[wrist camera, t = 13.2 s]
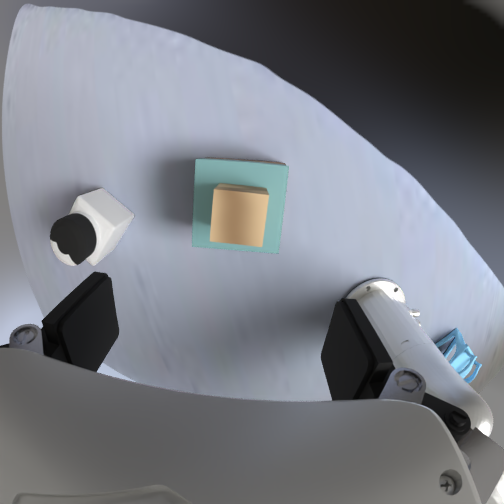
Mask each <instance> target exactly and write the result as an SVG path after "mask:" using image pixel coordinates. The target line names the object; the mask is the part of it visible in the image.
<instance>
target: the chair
mask: <svg viewBox="0 0 504 504" xmlns="http://www.w3.org/2000/svg"><path fill="white" fill-rule="evenodd" d="M454 336H455V339H454V340H453V341H452V343H451V344H450V346H449V347H448V349H447V350H446V352H445V353H444V355H443V356H444V357H445V358H446V357H447V356H448V355H449V353H450V352H451V350H452V349H453V348H454V346H455V345H456V352H455V354H454V356H453V357H452V358H451V360H450V361H449V363H450V364H451V366H452V367H453V368H454V369H455V371H456V372H457V373H458V374H459V375H460V376H461V377H462V378H464V377H465V376H466V375H467V374H468V373H469V371H470V370H471V368H472V365H473V363H474V364H475V365H477V366H476V369H475V371H474V372H473V374H472V375H471V376H470V377H469V378H467V379H464V380H465V381H466V382H467V383H470V382H471V381H472V380H473V379H474V378H475V376H476V375H477V373H478V370H479V368H480V367H481V365H482V364H479V363H478V362H476V361H475V359H476V358H477V356H475V355H474V354H473V353H472V351H471V350H470V348H469V347H468V345H467V344H465V342H464V340H463V337H462V334H461V333H459V330H458V329H457V328H456V329H454V330H453V331H452V332H451V333H450V334H448V335H447V336H446V337H444V338H443V339H442V340H440V341H439V342H437V343H436V344H435V345H436V346H437V348H438V347H440V346H441V345H443V344H444V343H446V342H447V341H449V340H450V339H451V338H453V337H454ZM467 364H468V365H467ZM466 365H467V366H466ZM465 366H466V367H465ZM464 367H465V368H464ZM463 368H464V369H463ZM462 369H463V370H462Z"/></svg>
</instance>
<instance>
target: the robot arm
mask: <svg viewBox="0 0 504 504" xmlns="http://www.w3.org/2000/svg"><path fill="white" fill-rule="evenodd" d="M419 314H420V312H419V310H418V309H412V310H410V309H409V308H408V307H407V305H406V304H405V295H404V293H403V291H402V289H401V288H400V287H399V286H398V285H397V284H396V283H395V282H393V281H391V280H388V279H382V278H378V279H372V280H369V281H366V282H364V283H362V284H360V285H359V286H358V287H356V288H355V289H354V290H352V291H351V292H350V293H349V294H348V296H347V297H346V298H342V299H341V301H338V302H337V303H336V305H335V309H334V312H333V316H332V319H331V323H330V326H329V329H328V333H327V336H326V339H325V342H324V346H323V349H322V352H321V361H322V365H323V368H324V372H325V375H326V379H327V382H328V386H329V390H330V393H331V397H332V401H274V400H255V399H242V398H231V397H221V396H212V395H204V394H197V393H190V392H184V391H178V390H172V389H166V388H161V387H156V386H151V385H146V384H141V383H137V382H132V381H128V380H124V379H119V378H116V377H112V376H108V375H104V374H101V373H97V370H98V368H99V367H100V365H101V364H102V362H103V360H104V359H105V357H106V355H107V354H108V352H109V350H110V349H111V347H112V346H113V344H114V342H115V341H116V339H117V338H118V335H119V327H118V321H117V315H116V309H115V302H114V296H113V288H112V281H111V278H110V277H108V275H107V274H106V273H100V272H93V273H92V274H91V275H90V276H89V277H87V278H86V279H85V280H84V281H83V282H82V283H81V284H80V285H79V286H77V287H76V288H75V289H74V290H73V291H72V292H71V293H70V294H69V295H68V296H67V297H66V298H65V299H64V300H62V301H61V302H60V303H59V304H58V305H57V306H56V307H55V308H54V309H53V310H52V311H51V312H50V313H49V314H48V315H47V316H46V317H45V318H44V319H43V320H42V324H43V327H42V329H40V328H39V327H38V326H36V325H34V324H25V325H21V326H19V327H18V328H16V329H15V330H14V331H13V332H12V333H11V335H10V343H9V344H5V345H1V346H0V504H504V449H503V448H502V447H501V446H499V445H498V444H497V443H496V442H494V441H493V440H492V439H490V438H489V436H490V433H491V431H492V428H493V415H492V412H491V410H490V408H489V406H488V404H487V403H486V402H485V401H484V399H483V398H482V397H481V396H480V395H479V394H478V393H477V392H476V391H475V390H474V389H473V388H472V387H471V386H470V385H469V384H468V383H467V382H466V381H465V380H464V379H463V378H462V377H461V376H460V375H459V374H458V373H457V372H456V371H455V369H454V368H453V367H452V366H451V364H450V363H449V362H448V361H447V359H446V358H445V357H444V356H443V354H442V353H441V352H440V350H439V349H438V348H437V346H436V345H435V344H434V343H433V341H432V340H431V339H430V337H429V336H428V335H427V334H426V332H425V331H424V330H423V329H422V327H421V326H420V321H419V320H415V319H414V317H418V316H419Z"/></svg>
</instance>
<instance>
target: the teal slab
mask: <svg viewBox="0 0 504 504" xmlns="http://www.w3.org/2000/svg"><path fill="white" fill-rule="evenodd" d="M288 170H289V166H287V165H283V164H274V163H264V162H253V161H241V160H228V159H210V158H199V159H196V162H195V179H194V199H193V227H192V247H203V248H215V249H227V250H239V251H251V252H264V253H276V254H278V253H279V246H280V238H281V230H282V222H283V214H284V205H285V197H286V188H287V179H288ZM220 183H226V184H236V185H245V186H254V187H262V188H267V191H268V193H269V200H268V208H267V215H266V223H265V230H264V237H263V245H262V247H256V246H247V245H238V244H229V243H220V242H211V241H210V230H211V217H212V205H213V194H214V189H215V188H216V187H217V186H218V185H219V184H220Z"/></svg>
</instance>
